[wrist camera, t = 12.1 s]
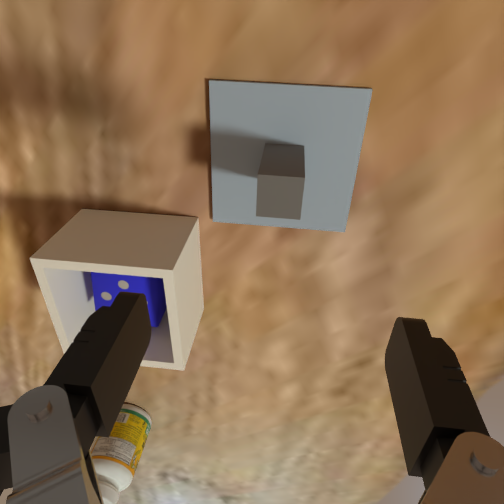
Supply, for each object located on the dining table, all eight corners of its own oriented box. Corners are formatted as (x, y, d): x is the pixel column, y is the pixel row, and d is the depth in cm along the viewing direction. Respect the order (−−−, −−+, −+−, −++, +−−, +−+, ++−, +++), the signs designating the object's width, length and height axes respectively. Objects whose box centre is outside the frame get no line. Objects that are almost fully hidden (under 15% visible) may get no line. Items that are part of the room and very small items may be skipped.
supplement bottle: (121, 396, 44) (81, 484, 36) (161, 417, 45) (131, 506, 37) (101, 415, 46) (59, 501, 38) (139, 434, 48) (106, 521, 40)
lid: (211, 78, 24) (187, 99, 19) (370, 86, 24) (390, 111, 18) (215, 216, 30) (196, 262, 25) (343, 226, 29) (353, 276, 24)
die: (175, 288, 34) (157, 328, 30) (120, 279, 34) (95, 317, 30) (176, 241, 31) (157, 278, 27) (117, 231, 31) (88, 266, 27)
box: (81, 208, 30) (29, 258, 24) (198, 217, 30) (172, 270, 24) (104, 299, 35) (65, 357, 30) (203, 308, 35) (184, 370, 29)
